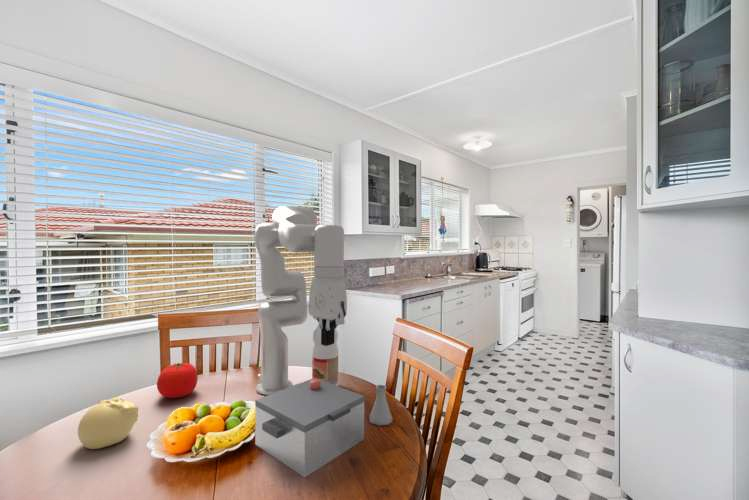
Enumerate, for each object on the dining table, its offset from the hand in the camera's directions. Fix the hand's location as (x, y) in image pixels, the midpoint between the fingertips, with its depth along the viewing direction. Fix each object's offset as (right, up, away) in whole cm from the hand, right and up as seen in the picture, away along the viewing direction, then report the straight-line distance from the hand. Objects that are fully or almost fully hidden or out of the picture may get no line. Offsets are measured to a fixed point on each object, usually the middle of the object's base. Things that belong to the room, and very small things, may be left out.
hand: (327, 344), depth 88 cm
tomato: (-56, -26, +30) cm, 68 cm away
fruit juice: (-6, -26, +37) cm, 46 cm away
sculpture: (-58, -26, +2) cm, 64 cm away
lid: (-4, -16, +1) cm, 17 cm away
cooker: (-5, -26, +2) cm, 27 cm away
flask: (+14, -27, +14) cm, 33 cm away
